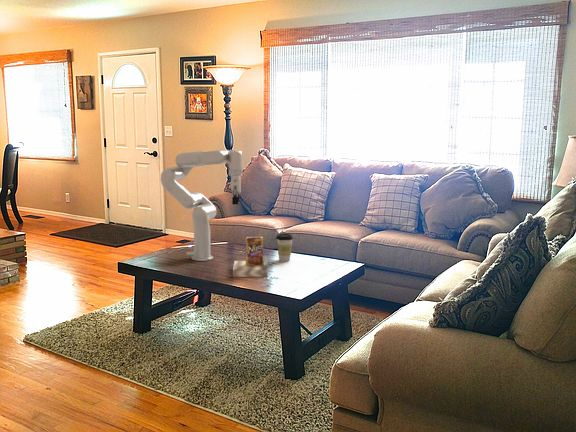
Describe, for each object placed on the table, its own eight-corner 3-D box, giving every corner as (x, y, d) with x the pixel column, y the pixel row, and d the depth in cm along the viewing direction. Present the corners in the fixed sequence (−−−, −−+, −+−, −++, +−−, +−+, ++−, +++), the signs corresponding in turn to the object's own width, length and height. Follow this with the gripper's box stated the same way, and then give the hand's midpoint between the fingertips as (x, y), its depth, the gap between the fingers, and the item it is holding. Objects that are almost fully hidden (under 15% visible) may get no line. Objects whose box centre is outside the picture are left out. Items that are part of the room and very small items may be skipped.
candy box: (246, 266, 304) (246, 238, 302) (245, 264, 308) (245, 236, 306) (263, 265, 306) (263, 237, 303) (261, 263, 310) (261, 235, 308)
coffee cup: (273, 261, 331) (273, 236, 329) (279, 257, 340) (280, 233, 338) (289, 263, 328) (289, 237, 325) (295, 259, 337) (295, 234, 334)
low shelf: (232, 276, 298) (232, 264, 297) (234, 267, 316) (234, 256, 315) (267, 276, 299) (267, 264, 298) (267, 267, 317) (267, 256, 316)
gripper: (241, 174, 312) (241, 205, 315) (242, 171, 329) (242, 200, 332) (227, 174, 312) (228, 205, 314) (229, 171, 329) (230, 200, 332)
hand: (235, 203), depth 323 cm, fingers open, 9 cm apart
